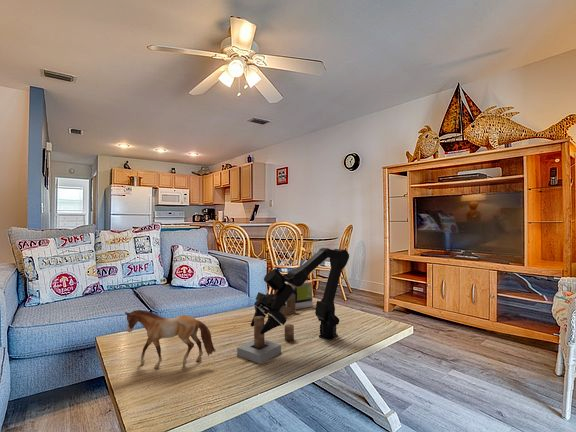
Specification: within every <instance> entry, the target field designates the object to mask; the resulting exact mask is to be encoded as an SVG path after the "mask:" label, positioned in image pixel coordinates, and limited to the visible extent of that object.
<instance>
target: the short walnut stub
mask: <svg viewBox="0 0 576 432" xmlns="http://www.w3.org/2000/svg"><path fill="white" fill-rule="evenodd" d="M294 331H295V325H294V324H292V323H291V324H290V323H288V324H287V323H285V324H284V341H286V342H293V341H294V340H295V332H294Z"/></svg>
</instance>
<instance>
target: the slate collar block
mask: <svg viewBox="0 0 576 432" xmlns="http://www.w3.org/2000/svg"><path fill="white" fill-rule="evenodd" d="M264 345H265V348H263V349H261V350H258V349H255V348H254V339H253V340H250V341H248V342H246V343H243V344H241V345H239V346H237V347H236V355H237V356H238V357H241V358H243V359H246V360H249V361H251V362H253V363H257V364H259V365H261V364H263V363H265V362H267V361H268V360H271V359H272V358H273V357H275V356H277V355H279V354H280V353H282V344H280V343H276V342H274V341H270V340H267V339H264Z"/></svg>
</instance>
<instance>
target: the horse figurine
mask: <svg viewBox="0 0 576 432" xmlns="http://www.w3.org/2000/svg"><path fill="white" fill-rule="evenodd" d="M124 314H125V315H126V321H127V323H126V325H127V326H126V332H128V333H132V332H133V330H134V328H135V326H136V325H137V324H138V322H139V323H140V324H141V325H142V327H143V328H144V329H145V330H146V335H147V339H146V342H145V344H144V346H143V349H142V352H141V355H140V365H141V366H142V365H144V364H145V362H146V360H145V354H146V351H147V349H148V348H149V346H150V345H151V344H153V345H154V347H155V350H156V352H157V356H158V361H157V363H155V365H154V367H153V369H159V368H160V366H161V365H160V364H161V363H162V361H163V357H162V353H161V352H162V349H161V343H160V340H161V339H162V340H163V339H169V338H175V337H176V336H177V337H178V339H180V340H181V342H182V343H183V344H185V345H187V351H186V352H185V354H184V356H183V360H182V367H184V366H185V365H187V363H188V361H187V359H188V357H189V354H190V353H191V351H192V349H193V348H194V345H195V344H196V345H197V348H198V356H197V358H196V360H195V361H197V362H198V361H199V362H200V361H201V360H202V358H203V357H202V356H203V354H204V352H203V347H204V350H205V352H206V354H207V356H210V355H212V354H213V352H216V351H217V350H216V349H215V347H214V343H213V340H212V333H211V331H210V329H209V328H208V326H207V325H206V324H205V323H204V322H202V321H201V320H198V319H196V318H195V317H192V316H190V315H185V314H182V315H178V316H176V317H171V318H170V317H169V318H166V317H162V316H160V315H158V314H156V313H153V312H151V311H147V310H143V309H142V310H141V309H137V310H133V311H130V312H125V313H124ZM199 330H200V337H201V340H200V339H199V337H198V331H199ZM190 338H191V339H192V340H193V341H194V342H195V343H194V342H193V341H192V340H191V339H190ZM202 343H203V347H202Z"/></svg>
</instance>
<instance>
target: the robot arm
mask: <svg viewBox="0 0 576 432" xmlns="http://www.w3.org/2000/svg"><path fill="white" fill-rule="evenodd" d="M327 258H329V264H330V270H329V273H328V278H327V281H326V284H325V289H324V292H323V297H322V298H321V300H317V301H316V305H315V308H314V310H315V311H314V314H315V316H316V318H317V319H318V321H319V322H320V324H319V335H318V337H319V338H321V339H326V340H328V341H330V340H331V341H332V340H335V338H337V337H338V336H339V334H338V333H337V325H339V323H340V319H339V317H338V316H337V315H336V314H335V313H336V305H335V297H336V294H337V291H338V286H339V282H340V278H341V274H342V271H343V270H344V268H345V267H346V266H347V265H348V261H349V259H350V254H349V252H348V250H346V249H341V248H334V249H330V248H328V247H321V248H319V250H318V251H316V253H315V254H313V255H312V256H310V258H308V259H307V260H306V261H305V262H304V263H302V265H300V266H297V267H295V268H292V269H291V270H290V271H288V272H287V273H285V274H282V273H281V271H279V270H278V268H273V269H272V270H270V271H268V272H267V273H266V274H265V275H264V277H263V281H264V282H265V283H266V284H267V285H268V286H269V288H271V289H272V290H273V291H275V292H274V293H266V294H265V293H262V292H260V291H258V292H257V294H256V297H255V302H254V303H253V305H254V310H255V311H254V314H253V318H252V320H251V322H250V326H251V327H252V328H254V317H256V316H263V317H264V318H266V317H267V321H266V322H264V326H263V328H262V330H261V331H260V333H261V334H264V335H265V334H266V333H267V332H269V331H271V330H273V329H275V328H277V327H281V326H285V325H286V324H287V319H288V318H287V317H286V315H283V314H282V313H281V312H280V310H281V308H282V307H283V306H284V307H285V306H286V304H285V303H286V302H287V300H288V299H289V298H290V296H291V295H292V294H294V295H296V296H297V295H298V294H297V289H296V288H293V287H292V286H291V285H294V286H297V287H300V286H302V285H303V283H304V282H305V281H308V278H309V275H310V274H311V273H312V272H314V270H315V269H317V268H318V267H319V266H320V265H321V264H322V263H323V262H325V260H327ZM285 282H288V283H289V284H286V283H285ZM290 284H291V285H290Z"/></svg>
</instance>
